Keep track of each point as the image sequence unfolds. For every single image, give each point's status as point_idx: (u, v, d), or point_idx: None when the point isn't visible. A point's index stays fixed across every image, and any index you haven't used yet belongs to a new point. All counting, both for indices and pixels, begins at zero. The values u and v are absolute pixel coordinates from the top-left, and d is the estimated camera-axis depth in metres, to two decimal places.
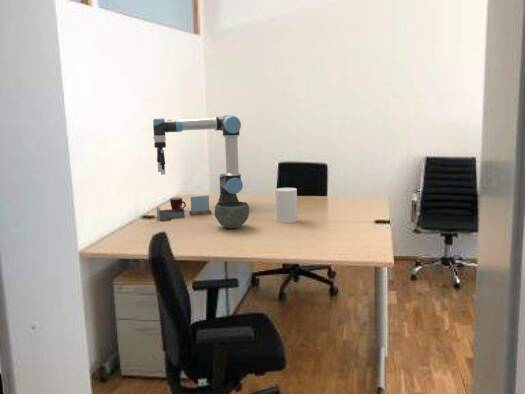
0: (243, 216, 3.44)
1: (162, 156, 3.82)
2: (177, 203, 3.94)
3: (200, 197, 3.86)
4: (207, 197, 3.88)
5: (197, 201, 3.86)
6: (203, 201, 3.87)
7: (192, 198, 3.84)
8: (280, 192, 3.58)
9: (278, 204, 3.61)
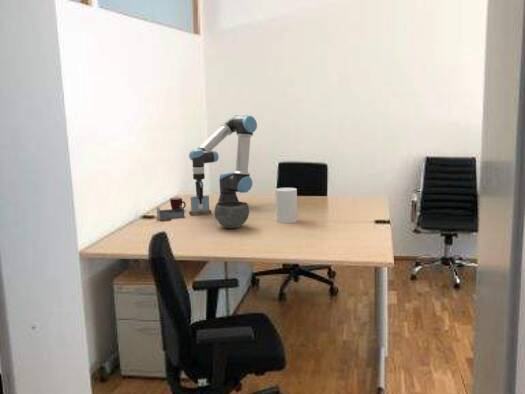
0: (243, 216, 3.44)
1: (201, 191, 3.81)
2: (177, 203, 3.94)
3: None
4: (207, 197, 3.88)
5: (197, 201, 3.86)
6: (203, 201, 3.87)
7: (192, 198, 3.84)
8: (280, 192, 3.58)
9: (278, 204, 3.61)
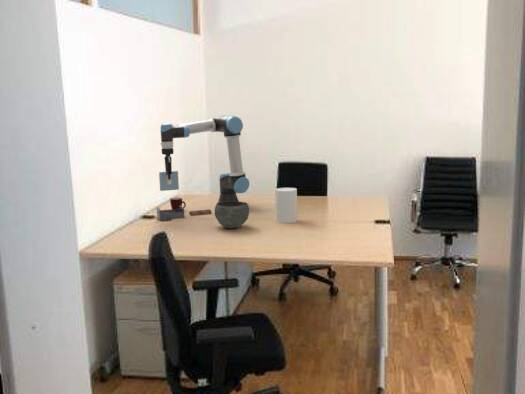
0: (243, 216, 3.44)
1: (169, 166, 3.72)
2: (177, 203, 3.94)
3: None
4: (176, 173, 3.78)
5: (165, 176, 3.77)
6: (172, 177, 3.78)
7: (161, 173, 3.75)
8: (280, 192, 3.58)
9: (278, 204, 3.61)
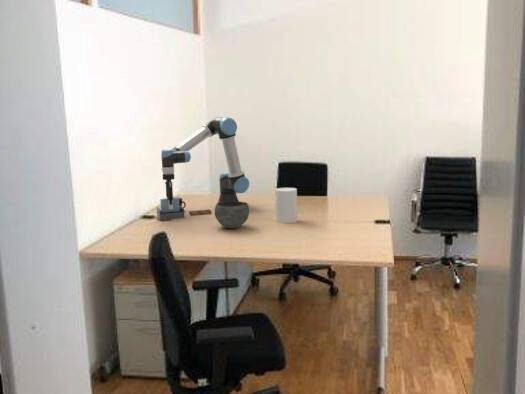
0: (243, 216, 3.44)
1: (170, 191, 3.74)
2: None
3: None
4: (177, 199, 3.81)
5: (166, 203, 3.80)
6: (173, 203, 3.81)
7: (162, 200, 3.78)
8: (280, 192, 3.58)
9: (278, 204, 3.61)
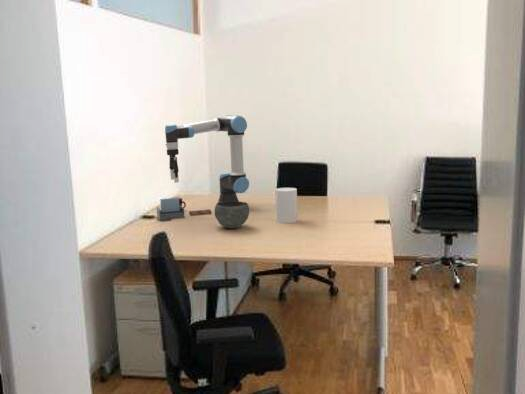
0: (243, 216, 3.44)
1: (175, 163, 3.72)
2: None
3: (170, 199, 3.80)
4: (177, 199, 3.81)
5: (166, 203, 3.80)
6: (173, 203, 3.81)
7: (162, 200, 3.78)
8: (280, 192, 3.58)
9: (278, 204, 3.61)
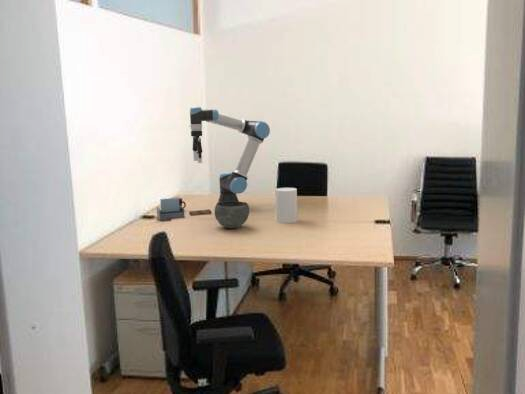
0: (243, 216, 3.44)
1: (199, 144, 3.84)
2: None
3: (170, 199, 3.80)
4: (177, 199, 3.81)
5: (166, 203, 3.80)
6: (173, 203, 3.81)
7: (162, 200, 3.78)
8: (280, 192, 3.58)
9: (278, 204, 3.61)
